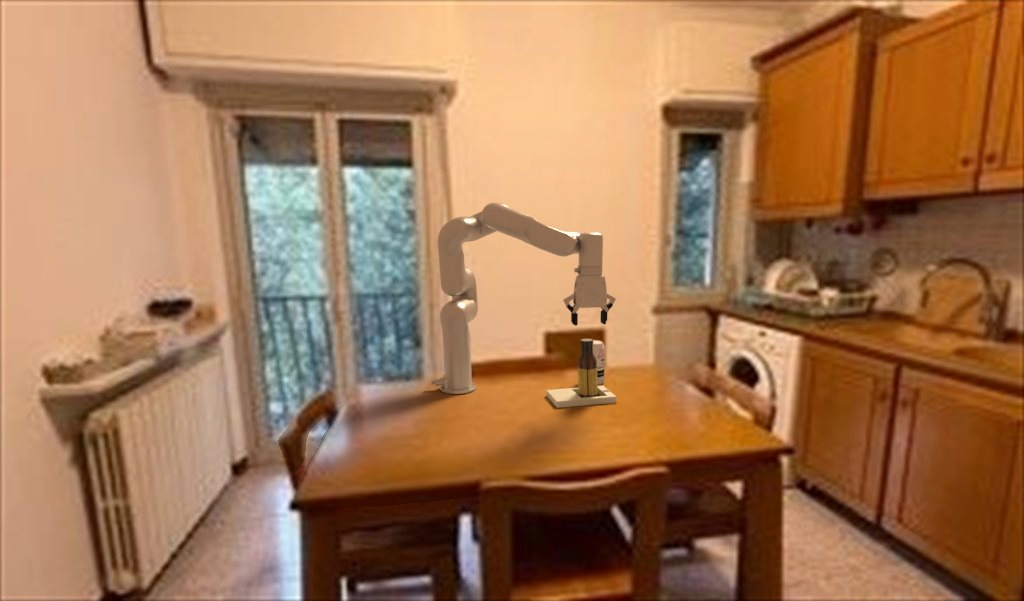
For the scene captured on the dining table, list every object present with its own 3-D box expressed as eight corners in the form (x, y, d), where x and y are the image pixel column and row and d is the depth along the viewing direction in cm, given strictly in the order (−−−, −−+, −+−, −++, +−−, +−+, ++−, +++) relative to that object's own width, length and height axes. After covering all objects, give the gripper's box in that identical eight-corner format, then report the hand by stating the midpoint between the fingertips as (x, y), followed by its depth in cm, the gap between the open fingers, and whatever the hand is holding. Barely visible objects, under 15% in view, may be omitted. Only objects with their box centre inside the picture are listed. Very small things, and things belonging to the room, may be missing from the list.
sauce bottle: (597, 395, 189) (598, 337, 186) (597, 402, 183) (597, 342, 180) (578, 395, 190) (578, 337, 187) (577, 401, 184) (577, 341, 181)
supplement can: (581, 379, 208) (581, 339, 206) (603, 379, 207) (604, 339, 204) (580, 385, 200) (581, 344, 198) (604, 386, 199) (605, 345, 196)
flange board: (556, 407, 178) (556, 401, 178) (546, 395, 190) (546, 389, 189) (616, 402, 182) (616, 396, 182) (602, 391, 194) (602, 385, 193)
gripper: (567, 273, 174) (567, 327, 177) (620, 272, 178) (618, 325, 181) (560, 270, 182) (560, 323, 184) (611, 269, 185) (609, 320, 188)
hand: (589, 324), depth 183 cm, fingers open, 9 cm apart
